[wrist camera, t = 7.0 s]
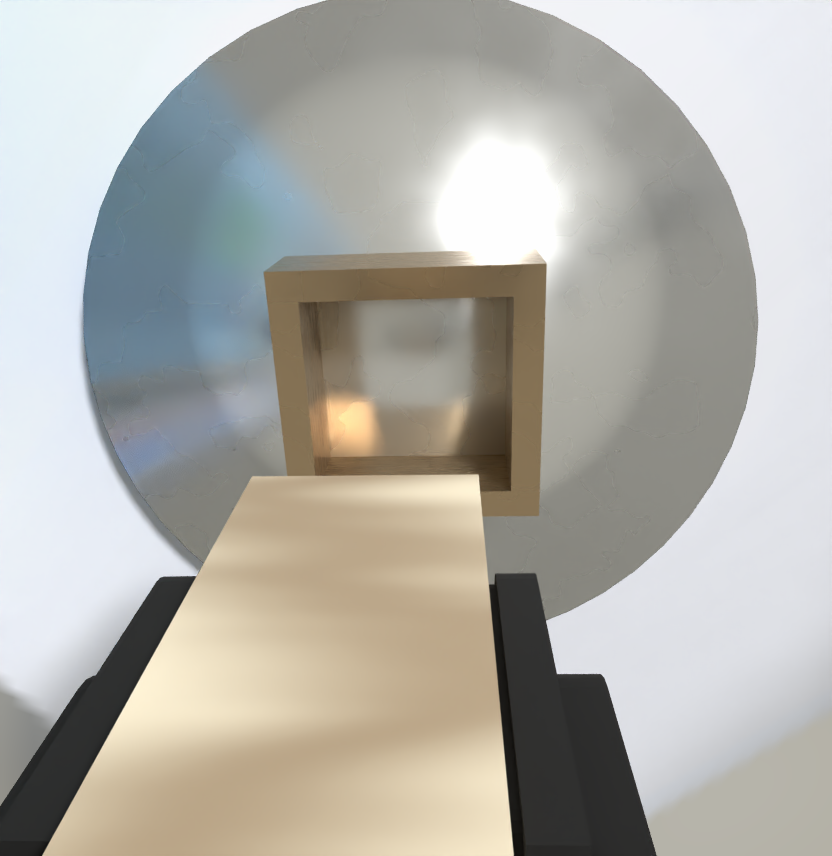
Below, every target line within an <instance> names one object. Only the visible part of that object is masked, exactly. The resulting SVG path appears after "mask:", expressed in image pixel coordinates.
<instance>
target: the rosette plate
mask: <svg viewBox="0 0 832 856" xmlns="http://www.w3.org/2000/svg"><path fill="white" fill-rule="evenodd" d="M83 302H84V340H85V347H86V354H87V360H88V367H89V374H90V380H91V383H92V387H93V390H94V394H95V397H96V401H97V404H98V408H99V411H100V415H101V418H102V421H103V423H104V425H105V428H106V430H107V432H108V435H109V437H110V439H111V442H112V444H113V446H114V449H115V451H116V454H117V456H118V458H119V459H120V461H121V463H122V464H123V466H124V468H125V470H126V471H127V473H128V475H129V477H130V478H131V480H132V482H133V483H134V485H135V487H136V489H137V490H138V492H139V493H140V494H141V496H142V497H143V498H144V500H145V501H146V502H147V504H148V505H149V506H150V508H151V509H152V510H153V512H154V513H155V514H156V516H157V517H158V518H159V520H160V521H161V522H162V523H163V524H164V525H165V526H166V527H167V528H168V529H169V530H170V531H171V533H172V534H173V535H174V536H175V537H176V538H177V539H178V540H179V541H180V542H181V543H182V544H183V545H184V546H185V547H186V548H187V549H188V550H189V551H190V552H191V553H192V554H194V555H195V556H196V557H197V558H198V559H200V560H201V561H202V562H203V563H204V562H205V560H206V559H207V557H208V555H209V553H210V551H211V550H212V548H213V546H214V544H215V542H216V541H217V539H218V537H219V535H220V533H221V531H222V530H223V528H224V526H225V524H226V522H227V521H228V519H229V517H230V515H231V513H232V512H233V510H234V508H235V506H236V504H237V503H238V501H239V499H240V497H241V495H242V493H243V492H244V490H245V488H246V486H247V484H248V483H249V481H250V479H251V477H252V476H360V475H479V485H480V496H481V507H482V518H483V528H484V539H485V550H486V561H487V572H488V583H489V584H494V579H495V573H535V574H536V576H537V580H538V584H539V589H540V594H541V599H542V604H543V609H544V614H545V619H546V620H548V619H551V618H553V617H556V616H558V615H561V614H563V613H566V612H568V611H570V610H572V609H574V608H576V607H578V606H580V605H582V604H583V603H585V602H587V601H589V600H591V599H593V598H595V597H596V596H598V595H600V594H602V593H604V592H605V591H607V590H608V589H610V588H611V587H612V586H614V585H615V584H617V583H618V582H620V581H621V580H622V579H624V578H625V577H627V576H628V575H630V574H631V573H633V572H634V571H635V570H636V569H638V568H639V567H640V566H641V565H642V564H643V563H644V562H645V561H647V560H648V559H649V558H650V557H651V556H652V555H653V554H655V553H656V552H657V551H658V550H659V549H660V548H661V547H662V546H664V545H665V543H666V542H667V541H668V540H669V539H670V538H671V537H672V536H673V534H674V533H675V532H676V531H677V530H678V529H679V528H680V527H681V525H682V524H683V523H684V522H685V521H686V520H687V519H688V518H689V516H690V515H691V514H692V512H693V511H694V509H695V508H696V506H697V505H698V504H699V502H700V501H701V499H702V498H703V496H704V495H705V493H706V492H707V490H708V489H709V488H710V486H711V485H712V483H713V481H714V479H715V478H716V476H717V474H718V472H719V470H720V468H721V466H722V464H723V462H724V460H725V458H726V456H727V454H728V452H729V450H730V448H731V447H732V444H733V441H734V438H735V436H736V433H737V430H738V427H739V424H740V422H741V419H742V416H743V413H744V411H745V408H746V404H747V399H748V395H749V390H750V385H751V381H752V376H753V371H754V367H755V357H756V344H757V331H758V310H757V295H756V279H755V273H754V268H753V263H752V258H751V253H750V249H749V244H748V239H747V234H746V230H745V228H744V225H743V222H742V219H741V217H740V214H739V211H738V208H737V206H736V203H735V200H734V197H733V195H732V192H731V189H730V187H729V185H728V183H727V181H726V179H725V178H724V176H723V174H722V172H721V170H720V168H719V166H718V165H717V163H716V161H715V159H714V157H713V155H712V154H711V152H710V150H709V148H708V146H707V144H706V143H705V142H704V140H703V139H702V138H701V136H700V135H699V134H698V132H697V131H696V130H695V128H694V127H693V126H692V124H691V123H690V122H689V120H688V119H687V118H686V116H685V115H684V114H683V112H682V111H681V110H680V108H679V107H678V106H677V105H676V104H675V103H674V102H673V101H672V100H671V99H670V98H669V97H668V96H667V95H666V94H665V93H664V92H663V91H662V90H661V89H660V88H659V87H658V86H657V85H656V84H655V83H654V82H653V81H652V80H651V79H650V78H649V77H648V76H647V75H646V74H645V73H644V72H643V71H642V70H641V69H639V68H638V67H637V66H635V65H634V64H633V63H631V62H630V61H628V60H627V59H626V58H624V57H623V56H621V55H620V54H619V53H617V52H616V51H615V50H613V49H612V48H610V47H609V46H608V45H606V44H605V43H604V42H602V41H601V40H599V39H598V38H596V37H594V36H592V35H590V34H588V33H586V32H584V31H582V30H580V29H578V28H576V27H574V26H572V25H571V24H569V23H567V22H565V21H563V20H561V19H559V18H557V17H555V16H553V15H550V14H547V13H544V12H541V11H538V10H536V9H533V8H530V7H527V6H524V5H521V4H518V3H515V2H512V1H509V0H326V1H323V2H319V3H316V4H312V5H309V6H305V7H302V8H298V9H296V10H293V11H291V12H289V13H287V14H285V15H283V16H280V17H278V18H276V19H274V20H272V21H269V22H267V23H265V24H263V25H261V26H259V27H256V28H254V29H252V30H250V31H249V32H247V33H245V34H244V35H242V36H241V37H239V38H238V39H236V40H235V41H233V42H232V43H230V44H229V45H227V46H226V47H224V48H223V49H221V50H220V51H218V52H217V53H215V54H214V55H212V56H210V57H209V58H208V59H207V60H206V61H204V62H203V63H202V64H201V65H200V66H199V67H198V68H197V69H195V70H194V71H193V72H192V73H191V74H190V75H189V76H188V77H187V78H185V79H184V80H183V81H182V82H181V83H180V84H179V85H178V86H177V87H175V88H174V89H173V90H172V91H171V92H170V94H169V95H168V96H167V97H166V98H165V100H164V101H163V102H162V103H161V105H160V106H159V107H158V108H157V109H156V111H155V112H154V113H153V114H152V115H151V117H150V118H149V119H148V120H147V121H146V123H145V124H144V125H143V126H142V128H141V129H140V131H139V133H138V134H137V136H136V138H135V139H134V141H133V143H132V144H131V146H130V147H129V149H128V151H127V152H126V154H125V156H124V157H123V159H122V161H121V162H120V164H119V166H118V167H117V170H116V172H115V174H114V177H113V179H112V182H111V184H110V186H109V189H108V191H107V193H106V196H105V198H104V201H103V203H102V205H101V208H100V210H99V214H98V218H97V222H96V226H95V230H94V233H93V237H92V241H91V245H90V249H89V252H88V261H87V269H86V278H85V286H84V295H83Z"/></svg>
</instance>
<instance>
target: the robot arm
mask: <svg viewBox="0 0 832 856" xmlns="http://www.w3.org/2000/svg"><path fill="white" fill-rule="evenodd" d="M196 577H197V576H180V577H161V578H160V579H159V580H158V581H157V582H156V583H155V585H154V587H153V588H152V590H151V591H150V593H149V594H148V596H147V597H146V599H145V600H144V602H143V604H142V605H141V607H140V608H139V610H138V611H137V613H136V614H135V616H134V617H133V619H132V621H131V622H130V624H129V625H128V627H127V628H126V630H125V631H124V633H123V634H122V636H121V638H120V639H119V641H118V642H117V644H116V645H115V647H114V648H113V650H112V651H111V653H110V654H109V656H108V658H107V659H106V661H105V662H104V664H103V665H102V667H101V668H100V670H99V671H98V673H97V675H96V676H92V677H90V678H88V679H86V680H85V682H84V683H83V684H82V685H81V686H80V687H79V689H78V690H77V691H76V693H75V695H74V696H73V698H72V699H71V701H70V702H69V704H68V705H67V707H66V708H65V710H64V711H63V713H62V714H61V716H60V717H59V719H58V720H57V722H56V723H55V725H54V726H53V728H52V729H51V731H50V732H49V734H48V735H47V737H46V738H45V740H44V741H43V743H42V744H41V746H40V747H39V749H38V750H37V752H36V753H35V755H34V756H33V758H32V759H31V761H30V762H29V764H28V765H27V767H26V768H25V770H24V771H23V773H22V774H21V776H20V778H19V779H18V780H17V782H16V784H15V785H14V786H13V788H12V789H11V791H10V792H9V794H8V795H7V797H6V798H5V800H4V801H3V803H2V804H1V806H0V856H42V855H43V853H44V852H45V850H46V848H47V846H48V844H49V842H50V841H51V839H52V837H53V835H54V833H55V832H56V830H57V828H58V826H59V824H60V823H61V821H62V819H63V817H64V815H65V814H66V812H67V810H68V808H69V806H70V805H71V803H72V801H73V799H74V797H75V795H76V794H77V792H78V790H79V788H80V786H81V785H82V783H83V781H84V779H85V777H86V776H87V774H88V772H89V770H90V768H91V767H92V765H93V763H94V761H95V759H96V757H97V756H98V754H99V752H100V750H101V748H102V747H103V745H104V743H105V741H106V739H107V738H108V736H109V734H110V732H111V730H112V729H113V727H114V725H115V723H116V721H117V720H118V718H119V716H120V714H121V712H122V710H123V709H124V707H125V705H126V703H127V701H128V700H129V698H130V696H131V694H132V692H133V691H134V689H135V687H136V685H137V683H138V682H139V680H140V678H141V676H142V674H143V673H144V671H145V669H146V667H147V665H148V663H149V662H150V660H151V658H152V656H153V654H154V653H155V651H156V649H157V647H158V645H159V644H160V642H161V640H162V638H163V636H164V635H165V633H166V631H167V629H168V627H169V625H170V624H171V622H172V620H173V618H174V616H175V615H176V613H177V611H178V609H179V607H180V606H181V604H182V602H183V600H184V598H185V597H186V595H187V593H188V591H189V589H190V588H191V586H192V584H193V582H194V580H195V578H196ZM489 593H490V604H491V615H492V626H493V637H494V647H495V658H496V669H497V680H498V691H499V702H500V712H501V723H502V734H503V745H504V756H505V766H506V777H507V788H508V799H509V810H510V821H511V831H512V842H513V853H514V856H656V852H655V849H654V845H653V842H652V838H651V835H650V831H649V828H648V824H647V821H646V818H645V814H644V811H643V807H642V804H641V800H640V797H639V794H638V790H637V787H636V783H635V780H634V776H633V773H632V770H631V766H630V763H629V759H628V756H627V752H626V749H625V745H624V742H623V739H622V735H621V732H620V728H619V725H618V721H617V718H616V715H615V711H614V708H613V704H612V701H611V697H610V694H609V690H608V687H607V684H606V682H605V679H604V677H603V676H602V675H601V674H557V673H556V668H555V663H554V658H553V653H552V648H551V643H550V638H549V633H548V629H547V624H546V619H545V614H544V609H543V604H542V599H541V594H540V589H539V584H538V580H537V576H536V574H535V573H495V579H494V584H489Z"/></svg>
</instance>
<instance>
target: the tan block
mask: <svg viewBox="0 0 832 856" xmlns="http://www.w3.org/2000/svg"><path fill="white" fill-rule="evenodd" d="M42 856H514V853H513V842H512V831H511V821H510V810H509V799H508V788H507V777H506V766H505V756H504V745H503V734H502V723H501V712H500V702H499V691H498V680H497V669H496V658H495V647H494V637H493V626H492V615H491V604H490V593H489V583H488V572H487V561H486V550H485V539H484V528H483V518H482V507H481V496H480V485H479V475H360V476H252V477H251V479H250V481H249V483H248V484H247V486H246V488H245V490H244V492H243V493H242V495H241V497H240V499H239V501H238V503H237V504H236V506H235V508H234V510H233V512H232V513H231V515H230V517H229V519H228V521H227V522H226V524H225V526H224V528H223V530H222V531H221V533H220V535H219V537H218V539H217V541H216V542H215V544H214V546H213V548H212V550H211V551H210V553H209V555H208V557H207V559H206V560H205V562H204V564H203V566H202V568H201V569H200V571H199V573H198V575H197V577H196V578H195V580H194V582H193V584H192V586H191V588H190V589H189V591H188V593H187V595H186V597H185V598H184V600H183V602H182V604H181V606H180V607H179V609H178V611H177V613H176V615H175V616H174V618H173V620H172V622H171V624H170V625H169V627H168V629H167V631H166V633H165V635H164V636H163V638H162V640H161V642H160V644H159V645H158V647H157V649H156V651H155V653H154V654H153V656H152V658H151V660H150V662H149V663H148V665H147V667H146V669H145V671H144V673H143V674H142V676H141V678H140V680H139V682H138V683H137V685H136V687H135V689H134V691H133V692H132V694H131V696H130V698H129V700H128V701H127V703H126V705H125V707H124V709H123V710H122V712H121V714H120V716H119V718H118V720H117V721H116V723H115V725H114V727H113V729H112V730H111V732H110V734H109V736H108V738H107V739H106V741H105V743H104V745H103V747H102V748H101V750H100V752H99V754H98V756H97V757H96V759H95V761H94V763H93V765H92V767H91V768H90V770H89V772H88V774H87V776H86V777H85V779H84V781H83V783H82V785H81V786H80V788H79V790H78V792H77V794H76V795H75V797H74V799H73V801H72V803H71V805H70V806H69V808H68V810H67V812H66V814H65V815H64V817H63V819H62V821H61V823H60V824H59V826H58V828H57V830H56V832H55V833H54V835H53V837H52V839H51V841H50V842H49V844H48V846H47V848H46V850H45V852H44V853H43V855H42Z"/></svg>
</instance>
